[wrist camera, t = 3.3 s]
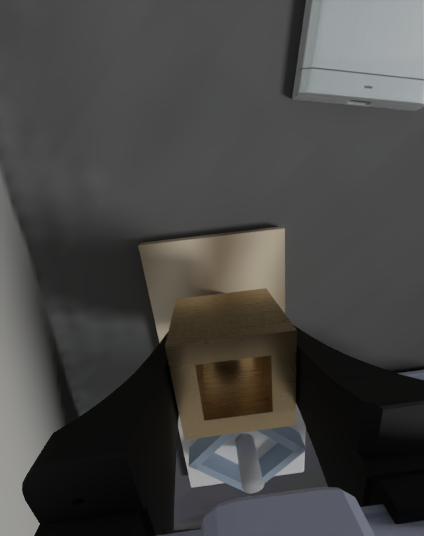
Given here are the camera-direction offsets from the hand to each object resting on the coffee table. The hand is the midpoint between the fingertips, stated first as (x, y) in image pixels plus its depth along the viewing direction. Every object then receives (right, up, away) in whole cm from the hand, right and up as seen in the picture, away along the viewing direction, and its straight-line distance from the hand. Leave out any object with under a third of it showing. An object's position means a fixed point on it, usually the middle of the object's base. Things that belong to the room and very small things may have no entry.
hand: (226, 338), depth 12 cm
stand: (0, +2, +5) cm, 5 cm away
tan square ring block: (0, 0, +1) cm, 1 cm away
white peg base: (+2, -12, +10) cm, 16 cm away
